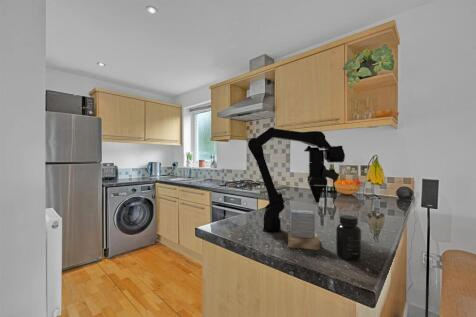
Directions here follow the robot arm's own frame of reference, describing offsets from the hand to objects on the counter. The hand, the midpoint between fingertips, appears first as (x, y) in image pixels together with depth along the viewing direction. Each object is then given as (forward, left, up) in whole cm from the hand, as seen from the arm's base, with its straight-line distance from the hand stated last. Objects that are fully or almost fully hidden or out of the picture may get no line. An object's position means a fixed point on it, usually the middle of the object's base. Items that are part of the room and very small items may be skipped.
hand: (316, 200), depth 91 cm
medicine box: (-6, -15, -10) cm, 19 cm away
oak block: (-6, -15, -13) cm, 21 cm away
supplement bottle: (+7, -23, -13) cm, 27 cm away
